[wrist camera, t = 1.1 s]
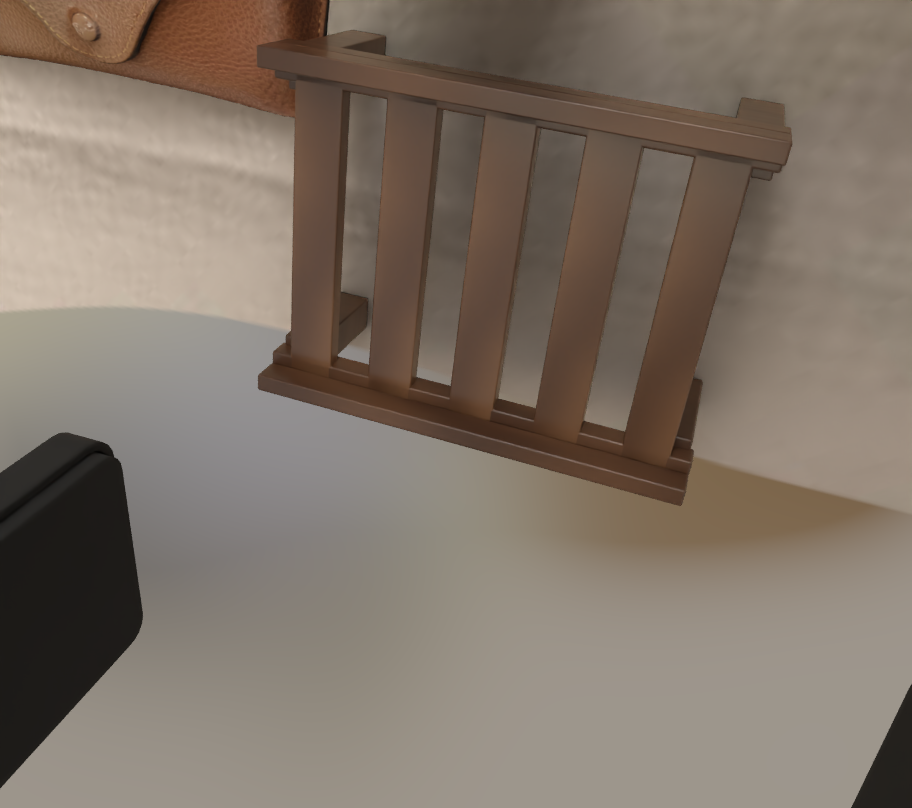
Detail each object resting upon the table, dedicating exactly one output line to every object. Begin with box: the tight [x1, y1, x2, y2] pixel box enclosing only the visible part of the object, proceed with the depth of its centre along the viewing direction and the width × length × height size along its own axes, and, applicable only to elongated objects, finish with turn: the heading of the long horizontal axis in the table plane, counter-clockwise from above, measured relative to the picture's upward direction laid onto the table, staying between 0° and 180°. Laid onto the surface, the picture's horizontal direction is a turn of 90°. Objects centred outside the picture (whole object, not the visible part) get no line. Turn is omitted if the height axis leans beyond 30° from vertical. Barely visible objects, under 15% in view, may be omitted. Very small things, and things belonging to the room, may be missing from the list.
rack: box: [257, 30, 792, 506], centre depth 33 cm, size 17×13×7 cm
